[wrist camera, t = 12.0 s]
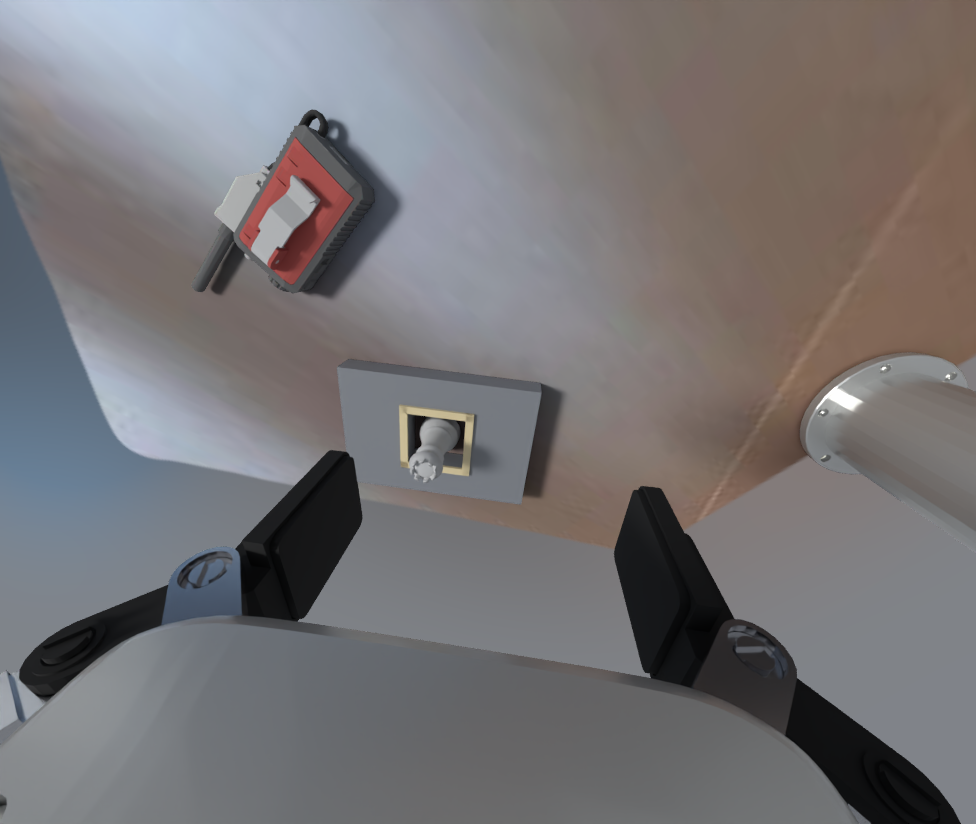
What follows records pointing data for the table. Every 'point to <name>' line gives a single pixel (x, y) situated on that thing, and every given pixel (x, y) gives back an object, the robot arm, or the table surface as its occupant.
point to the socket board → (449, 395)
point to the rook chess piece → (433, 447)
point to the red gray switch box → (292, 211)
